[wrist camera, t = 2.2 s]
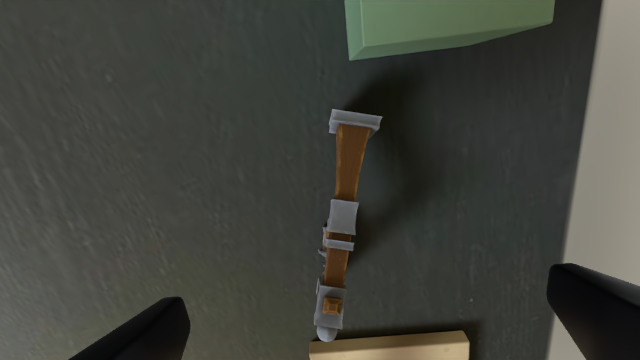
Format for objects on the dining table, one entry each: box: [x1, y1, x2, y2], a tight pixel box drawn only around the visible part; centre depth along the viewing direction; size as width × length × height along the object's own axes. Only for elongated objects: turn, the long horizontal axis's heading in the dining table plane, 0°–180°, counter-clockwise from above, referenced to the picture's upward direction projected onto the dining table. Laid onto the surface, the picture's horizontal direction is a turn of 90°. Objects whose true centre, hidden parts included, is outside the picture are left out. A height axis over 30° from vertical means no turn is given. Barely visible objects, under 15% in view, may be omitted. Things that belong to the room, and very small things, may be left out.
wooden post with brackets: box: [314, 109, 382, 342], centre depth 12 cm, size 2×8×4 cm, turn 172°
